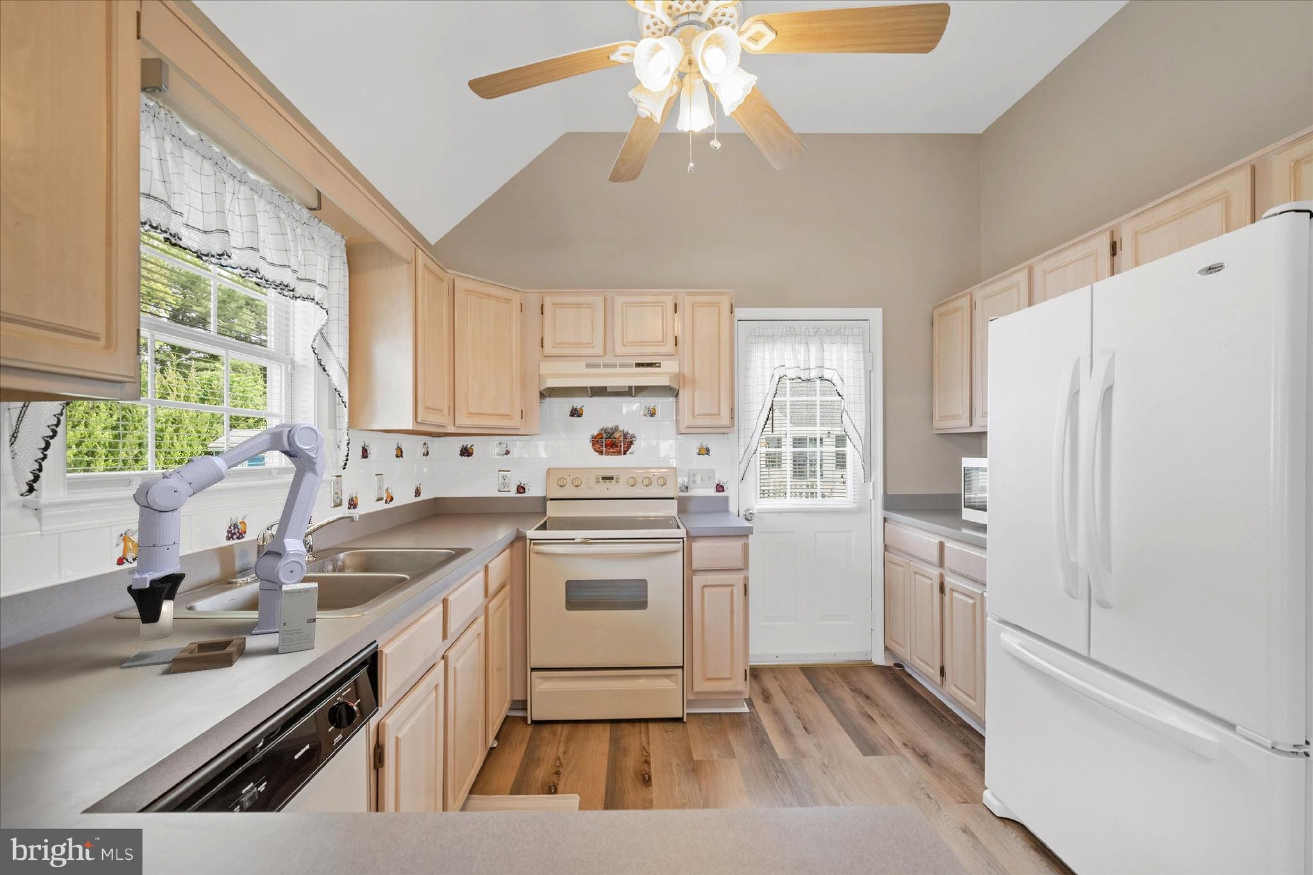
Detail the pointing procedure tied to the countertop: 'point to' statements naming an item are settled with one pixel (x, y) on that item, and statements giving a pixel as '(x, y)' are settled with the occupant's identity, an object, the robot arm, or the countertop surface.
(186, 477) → the robot arm
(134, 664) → the slate mat
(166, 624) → the cream rounded capsule
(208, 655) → the walnut holder
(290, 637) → the skincare box
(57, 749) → the countertop surface
